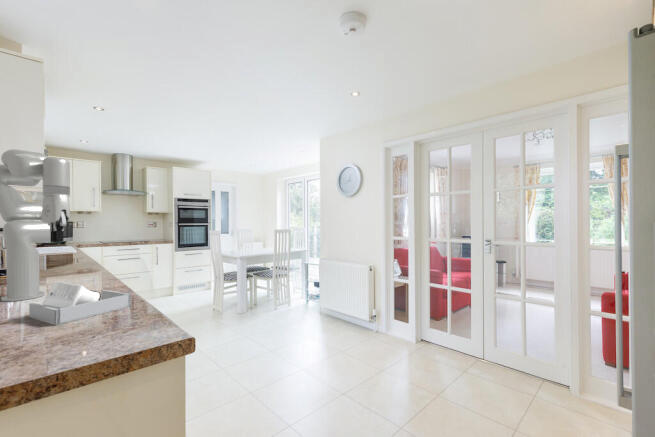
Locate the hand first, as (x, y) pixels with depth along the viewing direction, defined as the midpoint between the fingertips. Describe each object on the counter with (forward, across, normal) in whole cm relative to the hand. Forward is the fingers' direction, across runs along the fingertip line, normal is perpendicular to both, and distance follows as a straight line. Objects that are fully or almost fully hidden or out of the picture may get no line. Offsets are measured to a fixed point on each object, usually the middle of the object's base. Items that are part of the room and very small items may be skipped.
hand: (57, 241), depth 113 cm
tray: (+24, +17, 0) cm, 29 cm away
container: (+16, +14, -8) cm, 23 cm away
